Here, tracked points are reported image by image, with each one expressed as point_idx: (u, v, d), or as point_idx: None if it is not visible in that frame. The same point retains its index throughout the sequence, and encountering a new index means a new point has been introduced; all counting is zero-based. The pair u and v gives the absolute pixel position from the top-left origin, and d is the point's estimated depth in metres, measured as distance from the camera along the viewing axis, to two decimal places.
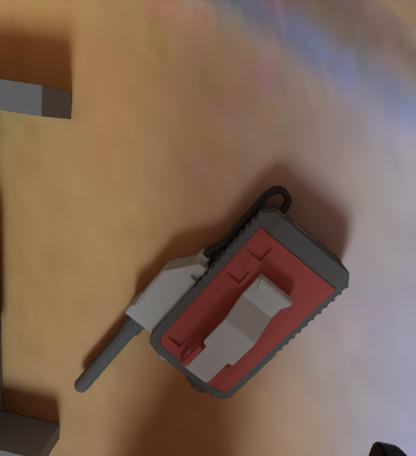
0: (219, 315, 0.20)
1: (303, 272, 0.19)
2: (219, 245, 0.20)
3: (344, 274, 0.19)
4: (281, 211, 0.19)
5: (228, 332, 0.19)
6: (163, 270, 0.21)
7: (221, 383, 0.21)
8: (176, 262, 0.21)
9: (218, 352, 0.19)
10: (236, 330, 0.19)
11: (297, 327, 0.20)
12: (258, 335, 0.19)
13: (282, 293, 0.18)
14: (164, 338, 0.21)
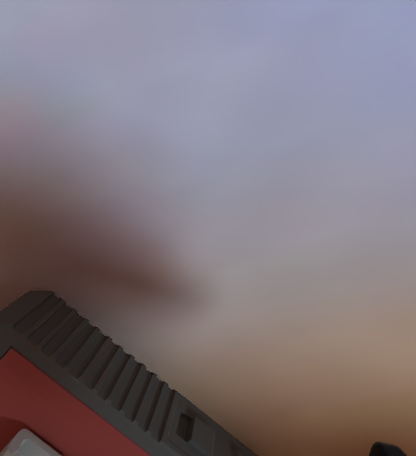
0: None
1: None
2: None
3: None
4: None
5: None
6: None
7: None
8: None
9: None
10: None
11: (96, 408, 0.11)
12: None
13: None
14: None
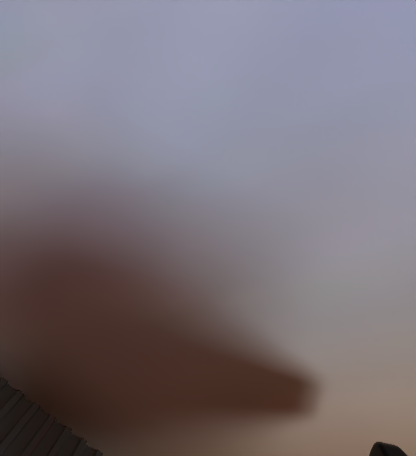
0: None
1: None
2: None
3: None
4: None
5: None
6: None
7: None
8: None
9: None
10: None
11: None
12: None
13: None
14: None
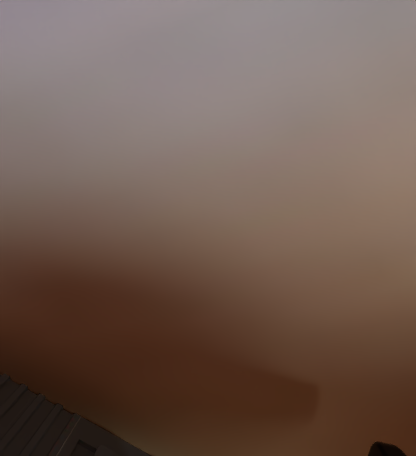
0: None
1: None
2: None
3: None
4: None
5: None
6: None
7: None
8: None
9: None
10: None
11: None
12: None
13: None
14: None
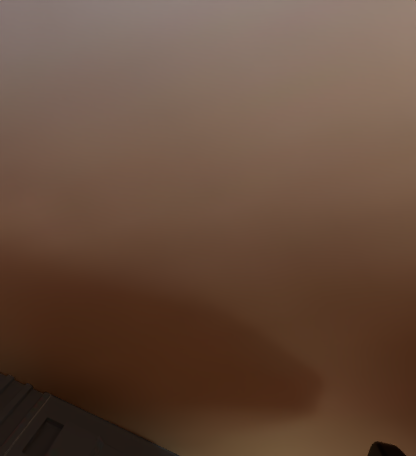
0: None
1: None
2: None
3: None
4: None
5: None
6: None
7: None
8: None
9: None
10: None
11: None
12: None
13: None
14: None
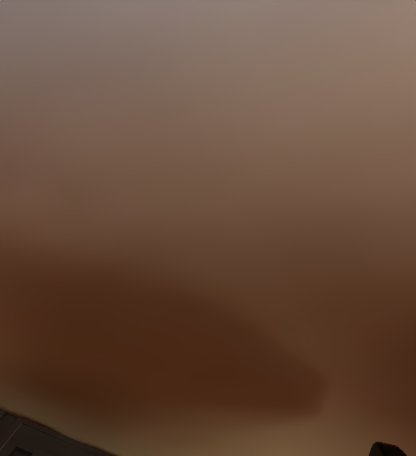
0: None
1: None
2: None
3: None
4: None
5: None
6: None
7: None
8: None
9: None
10: None
11: None
12: None
13: None
14: None
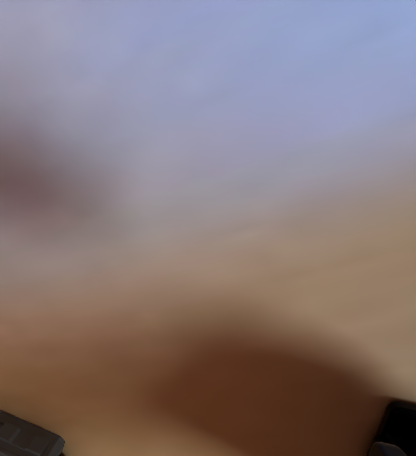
0: None
1: None
2: None
3: None
4: None
5: None
6: None
7: None
8: None
9: None
10: None
11: None
12: None
13: None
14: None
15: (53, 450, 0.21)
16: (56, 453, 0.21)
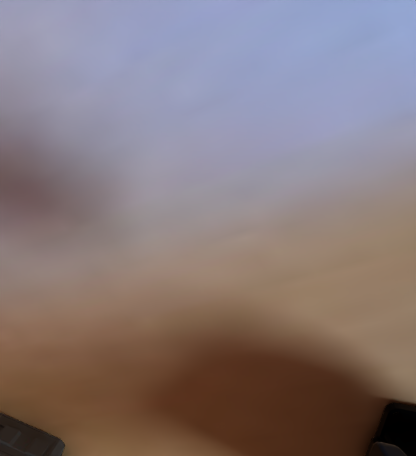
0: None
1: None
2: None
3: None
4: None
5: None
6: None
7: None
8: None
9: None
10: None
11: None
12: None
13: None
14: None
15: (53, 453, 0.22)
16: None
